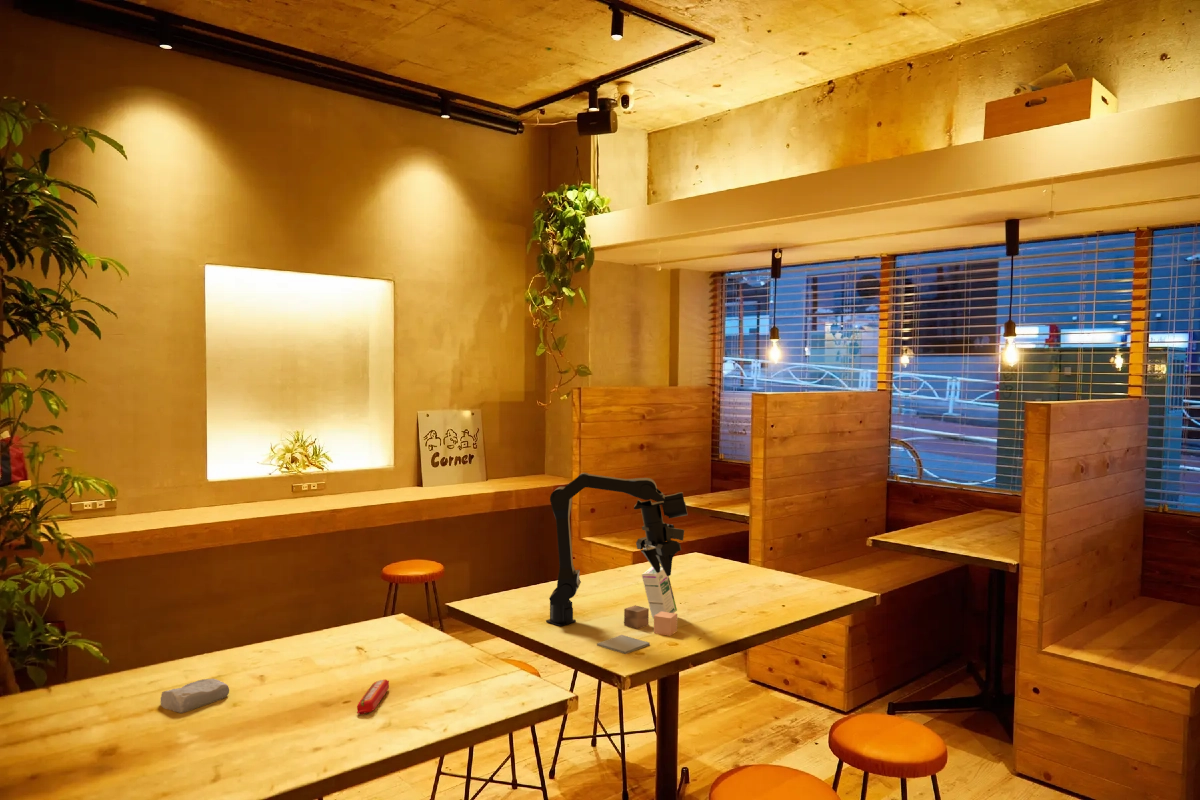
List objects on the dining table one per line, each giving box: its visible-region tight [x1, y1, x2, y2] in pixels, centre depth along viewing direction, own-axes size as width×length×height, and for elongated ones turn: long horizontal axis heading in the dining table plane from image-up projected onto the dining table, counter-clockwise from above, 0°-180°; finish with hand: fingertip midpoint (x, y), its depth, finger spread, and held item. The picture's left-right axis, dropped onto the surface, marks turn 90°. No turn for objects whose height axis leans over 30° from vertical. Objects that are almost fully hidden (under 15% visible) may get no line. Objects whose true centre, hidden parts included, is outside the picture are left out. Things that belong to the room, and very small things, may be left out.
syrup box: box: [641, 565, 678, 619], centre depth 244 cm, size 6×6×14 cm
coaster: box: [596, 634, 650, 655], centre depth 220 cm, size 10×10×1 cm
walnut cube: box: [623, 604, 650, 630], centre depth 237 cm, size 5×5×5 cm
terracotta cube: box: [653, 611, 678, 636], centre depth 231 cm, size 5×5×5 cm
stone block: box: [160, 678, 230, 714], centre depth 181 cm, size 12×5×10 cm
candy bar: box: [356, 679, 390, 715], centre depth 181 cm, size 16×4×3 cm, turn 0°
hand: (663, 574), depth 237 cm, fingers open, 7 cm apart
